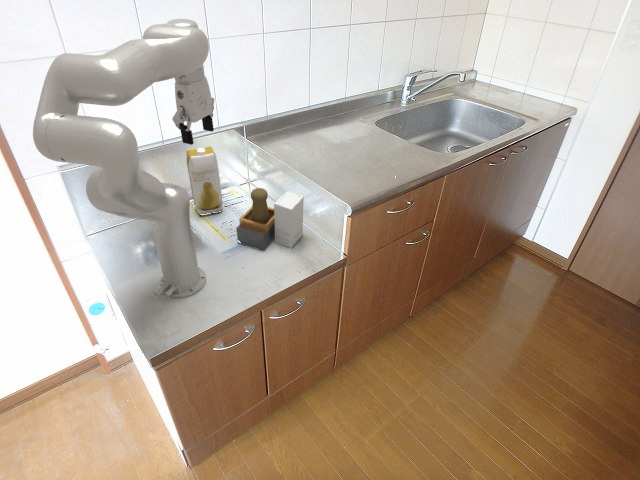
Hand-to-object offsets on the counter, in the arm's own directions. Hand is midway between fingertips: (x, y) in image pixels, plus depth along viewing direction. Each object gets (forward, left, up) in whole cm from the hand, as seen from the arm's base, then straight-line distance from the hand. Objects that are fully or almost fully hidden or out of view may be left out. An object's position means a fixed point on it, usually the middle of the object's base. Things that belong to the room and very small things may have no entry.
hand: (198, 136), depth 116 cm
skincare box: (+7, -25, -34) cm, 42 cm away
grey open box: (+5, -15, -33) cm, 37 cm away
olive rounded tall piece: (+5, -15, -28) cm, 32 cm away
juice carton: (+10, +8, -34) cm, 36 cm away
